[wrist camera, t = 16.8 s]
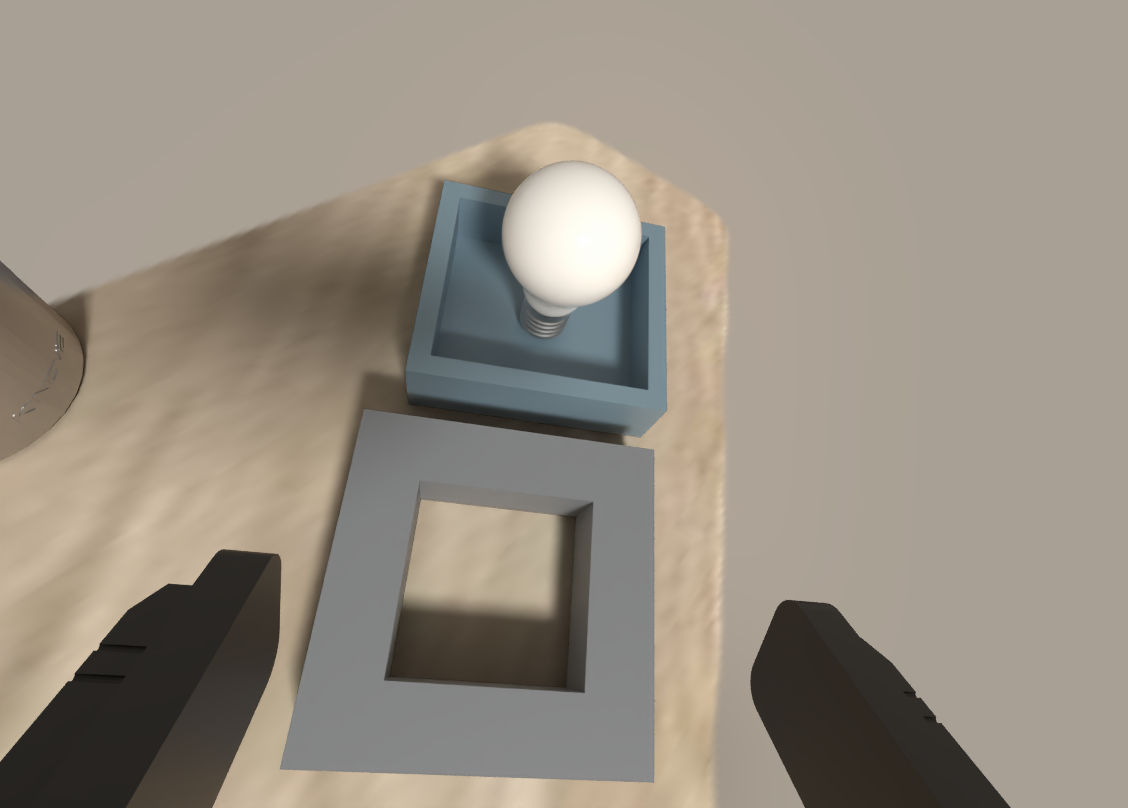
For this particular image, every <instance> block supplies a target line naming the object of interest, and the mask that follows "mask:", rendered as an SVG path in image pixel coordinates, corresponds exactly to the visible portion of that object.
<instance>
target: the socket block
mask: <svg viewBox="0 0 1128 808" xmlns="http://www.w3.org/2000/svg"><path fill="white" fill-rule="evenodd" d="M421 499H424V500H433V501H441V502H450V503H458V504H467V505H475V506H484V507H493V508H501V509H510V510H518V511H527V512H535V513H544V514H553V515H561V516H570V517H576V527H575V544H574V561H573V579H572V596H571V613H570V631H569V648H568V665H567V683H566V688H562V687H546V686H530V685H515V684H499V683H483V682H468V681H452V680H436V679H421V678H405V677H390V671H391V666H392V660H393V654H394V649H395V643H396V637H397V632H398V626H399V620H400V614H401V609H402V603H403V597H404V592H405V586H406V580H407V575H408V569H409V563H410V557H411V552H412V546H413V540H414V535H415V529H416V523H417V517H418V512H419V506H420V500H421ZM280 769H285V770H313V771H341V772H369V773H398V774H426V775H454V776H483V777H511V778H539V779H567V780H596V781H624V782H652V783H654V450H652V449H645V448H638V447H631V446H624V445H617V444H610V443H603V442H596V441H589V440H582V439H574V438H567V437H560V436H553V435H546V434H539V433H532V432H525V431H518V430H511V429H504V428H496V427H489V426H482V425H475V424H468V423H461V422H454V421H447V420H440V419H433V418H426V417H418V416H411V415H404V414H397V413H390V412H383V411H376V410H369V409H364V411H363V416H362V420H361V424H360V428H359V433H358V437H357V441H356V445H355V450H354V454H353V458H352V463H351V467H350V471H349V475H348V480H347V484H346V488H345V493H344V497H343V501H342V505H341V510H340V514H339V518H338V522H337V527H336V531H335V535H334V540H333V544H332V548H331V552H330V557H329V561H328V565H327V570H326V574H325V578H324V582H323V587H322V591H321V595H320V599H319V604H318V608H317V612H316V617H315V621H314V625H313V629H312V634H311V638H310V642H309V646H308V651H307V655H306V659H305V664H304V668H303V672H302V676H301V681H300V685H299V689H298V694H297V698H296V702H295V706H294V711H293V715H292V719H291V723H290V728H289V732H288V736H287V741H286V745H285V749H284V753H283V758H282V762H281V766H280Z"/></svg>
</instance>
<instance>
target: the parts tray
mask: <svg viewBox="0 0 1128 808" xmlns="http://www.w3.org/2000/svg"><path fill="white" fill-rule="evenodd" d="M512 195H513V194H508V193H503V192H499V191H494V190H489V189H485V188H480V187H475V186H470V185H466V184H461V183H456V182H452V181H447V180H445V181H444V185H443V190H442V195H441V200H440V205H439V209H438V214H437V219H436V224H435V229H434V234H433V238H432V243H431V248H430V253H429V258H428V263H427V267H426V272H425V277H424V282H423V287H422V292H421V296H420V301H419V306H418V311H417V316H416V321H415V325H414V330H413V335H412V340H411V345H410V350H409V354H408V359H407V364H406V369H405V374H406V385H407V397H408V404H413V405H419V406H426V407H433V408H440V409H447V410H454V411H461V412H468V413H475V414H482V415H489V416H496V417H503V418H510V419H516V420H523V421H530V422H537V423H544V424H551V425H558V426H565V427H572V428H579V429H586V430H593V431H600V432H607V433H613V434H620V435H627V436H634V437H641V436H642V435H643V434H644V433H645V432H646V431H647V430H648V429H649V428H650V427H651V426H652V425H653V424H654V423H655V422H656V421H657V420H658V419H659V418H660V417H661V416H662V415H663V414H664V413H665V412H666V411H667V364H666V271H665V227H663V226H659V225H654V224H649V223H645V222H641V228H642V238H641V247H640V251H639V255H638V258H637V261H636V263H635V266H634V268H633V270H632V271H631V273H630V275H629V276H628V278H627V279H626V280H625V282H624V283H623V284H622V285H621V286H620V287H619V288H618V289H617V290H616V291H614V292H613V293H612V294H611V295H609V296H608V297H606V298H604V299H602V300H600V301H598V302H596V303H593V304H590V305H586V306H582V307H578V308H577V309H576V310H575V311H573V312H572V313H571V314H570V317H569V319H568V321H567V324H566V326H565V328H564V330H563V332H562V333H561V334H560V335H559V336H557V337H555V338H553V339H548V340H543V339H538V338H535V337H533V336H531V335H530V334H528V333H527V332H526V331H525V330H524V328H523V327H522V325H521V322H520V312H521V308H522V305H523V301H524V297H525V296H524V292H523V287H522V286H521V285H520V283H519V282H518V281H517V280H516V278H515V277H514V275H513V274H512V272H511V270H510V268H509V266H508V264H507V261H506V259H505V255H504V252H503V246H502V234H501V233H502V222H503V217H504V213H505V210H506V207H507V205H508V202H509V200H510V198H511V196H512Z"/></svg>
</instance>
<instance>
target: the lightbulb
mask: <svg viewBox="0 0 1128 808" xmlns="http://www.w3.org/2000/svg"><path fill="white" fill-rule="evenodd" d="M501 234H502V246H503V252H504V255H505V259H506V261H507V264H508V266H509V268H510V270H511V272H512V274H513V275H514V277H515V278H516V280H517V281H518V282H519V283H520V285H521V286H522V287H523V292H524V296H525V297H524V301H523V305H522V308H521V312H520V322H521V325H522V327H523V328H524V330H525V331H526V332H527V333H528V334H530V335H531V336H533V337H535V338H538V339H543V340H548V339H553V338H555V337H557V336H559V335H560V334H561V333H562V332H563V330H564V328H565V326H566V324H567V321H568V319H569V317H570V314H571V313H572V312H573V311H575V310H576V309H577V308H578V307H582V306H586V305H590V304H593V303H596V302H598V301H600V300H602V299H604V298H606V297H608V296H609V295H611V294H612V293H613V292H614V291H616V290H617V289H618V288H619V287H620V286H621V285H622V284H623V283H624V282H625V280H626V279H627V278H628V276H629V275H630V273H631V271H632V270H633V268H634V266H635V263H636V261H637V258H638V255H639V251H640V247H641V238H642V228H641V220H640V215H639V212H638V209H637V206H636V204H635V201H634V199H633V197H632V196H631V194H630V192H629V191H628V189H627V188H626V187H625V186H624V184H623V183H622V182H621V181H620V180H619V179H618V178H617V177H615V176H614V175H613V174H612V173H610V172H609V171H607V170H605V169H604V168H602V167H599V166H597V165H594V164H591V163H588V162H583V161H561V162H556V163H552V164H549V165H547V166H544V167H542V168H540V169H538V170H537V171H535V172H534V173H532V174H531V175H529V176H528V177H527V178H526V179H525V180H524V181H523V182H522V183H521V184H520V185H519V186H518V188H517V189H516V190H515V192H514V193H513V195H512V196H511V198H510V200H509V202H508V205H507V207H506V210H505V213H504V217H503V222H502V233H501Z"/></svg>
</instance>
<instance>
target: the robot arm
mask: <svg viewBox="0 0 1128 808" xmlns="http://www.w3.org/2000/svg"><path fill="white" fill-rule="evenodd" d="M82 374H83V354H82V349H81V345H80V341H79V339H78V338H77V336H76V334H75V333H74V331H73V329H72V327H71V326H70V325H69V324H68V323H67V322H66V321H65V320H64V319H63V318H62V317H61V316H60V315H59V314H57V313H56V312H55V311H54V310H53V309H52V308H51V307H50V306H49V305H48V304H46V303H45V302H44V301H43V300H42V299H41V298H40V297H39V296H38V295H37V294H35V293H34V292H33V291H32V290H31V289H30V288H29V287H28V286H27V285H26V284H24V283H23V282H22V281H21V280H20V279H19V278H18V277H17V276H16V275H15V274H14V273H13V272H12V271H11V270H10V269H9V268H7V267H6V266H5V265H4V264H3V263H2V262H1V261H0V460H3V459H5V458H7V457H9V456H11V455H12V454H14V453H16V452H18V451H20V450H22V449H23V448H25V447H27V446H29V445H30V444H31V443H33V442H34V441H35V440H36V439H38V438H39V437H40V436H42V435H43V434H44V433H46V432H47V431H48V430H49V429H50V428H51V427H52V426H53V425H54V424H55V423H56V422H57V421H58V419H59V418H60V417H61V416H62V415H63V414H64V413H65V412H66V410H67V408H68V407H69V405H70V403H71V402H72V400H73V399H74V397H75V395H76V393H77V390H78V387H79V384H80V381H81V378H82ZM280 593H281V559H280V556H279V555H278V554H271V553H260V552H248V551H237V550H225V549H223V550H220V551H218V552H217V553H216V554H215V556H214V557H213V558H212V559H211V561H210V562H209V563H208V565H207V566H206V568H205V569H204V570H203V572H202V573H201V574H200V576H199V577H198V578H197V580H196V581H195V583H194V584H193V585H179V584H167V585H166V586H164V587H163V588H161V589H160V590H158V591H156V592H155V593H153V594H152V595H150V596H149V597H147V598H146V599H144V600H143V601H141V602H140V603H138V604H137V605H135V606H133V607H132V608H130V609H129V610H128V611H127V612H126V613H125V614H124V615H123V617H122V618H121V619H120V620H119V621H118V623H117V624H116V625H115V626H114V627H113V629H112V630H111V631H110V632H109V633H108V634H107V636H106V637H105V638H104V639H103V640H102V642H101V643H100V646H99V649H98V650H97V651H93V652H92V653H91V655H90V656H89V657H88V658H87V659H86V661H85V662H84V663H83V664H82V665H81V667H80V668H79V669H78V670H77V671H76V672H75V676H74V679H73V680H72V681H68V682H67V683H66V684H65V686H64V687H63V688H62V689H61V690H60V692H59V693H58V694H57V695H56V696H55V697H54V699H53V700H52V701H51V702H50V703H49V705H48V706H47V707H46V708H45V709H44V711H43V712H42V713H41V714H40V715H39V716H38V718H37V719H36V720H35V721H34V722H33V724H32V725H31V726H30V727H29V728H28V730H27V731H26V732H25V733H24V734H23V735H22V737H21V738H20V739H19V740H18V741H17V743H16V744H15V745H14V746H13V747H12V749H11V750H10V751H9V752H8V753H7V754H6V756H5V757H4V758H3V759H2V760H1V762H0V808H212V807H213V805H214V802H215V800H216V798H217V796H218V793H219V791H220V789H221V787H222V784H223V782H224V780H225V778H226V775H227V773H228V771H229V769H230V766H231V764H232V762H233V760H234V757H235V755H236V753H237V751H238V748H239V746H240V744H241V742H242V739H243V737H244V735H245V733H246V730H247V728H248V726H249V724H250V721H251V719H252V717H253V715H254V712H255V710H256V708H257V706H258V703H259V701H260V699H261V697H262V694H263V692H264V690H265V688H266V685H267V683H268V681H269V678H270V675H271V672H272V669H273V666H274V662H275V658H276V654H277V649H278V643H279V630H280ZM751 693H752V697H753V702H754V705H755V707H756V709H757V712H758V713H759V715H760V717H761V720H762V722H763V724H764V726H765V728H766V730H767V732H768V734H769V736H770V738H771V740H772V742H773V744H774V746H775V748H776V750H777V752H778V754H779V756H780V758H781V760H782V762H783V764H784V766H785V768H786V770H787V772H788V774H789V776H790V778H791V780H792V782H793V784H794V786H795V788H796V790H797V792H798V794H799V796H800V798H801V800H802V802H803V804H804V807H805V808H1010V806H1009V805H1008V804H1007V803H1006V801H1005V800H1004V799H1003V798H1002V797H1001V795H1000V794H999V793H998V792H997V791H996V789H995V788H994V787H993V786H992V784H991V783H990V782H989V781H988V780H987V778H986V777H985V776H984V775H983V774H982V772H981V771H980V770H979V769H978V767H977V766H976V765H975V764H974V763H973V761H972V760H971V759H970V758H969V756H968V755H967V754H966V753H965V751H964V750H963V749H962V748H961V747H960V745H959V744H958V743H957V742H956V741H955V739H954V738H953V737H952V736H951V734H950V733H949V732H948V731H947V730H946V729H945V727H944V726H943V725H942V723H937V722H936V716H935V715H934V714H933V712H932V711H931V710H930V709H929V708H928V706H927V705H926V704H925V703H924V702H923V700H922V699H921V698H917V697H916V695H915V693H916V692H915V691H914V689H913V688H912V687H911V686H910V684H909V683H908V682H907V681H906V680H905V679H904V677H903V676H902V675H901V674H900V672H899V671H898V670H897V669H896V667H895V666H894V665H893V664H892V663H891V662H890V661H889V660H888V659H886V658H885V657H884V656H883V655H882V654H880V653H879V652H878V651H877V650H875V649H874V648H873V647H872V646H871V645H869V644H868V643H867V642H866V641H864V640H863V639H862V638H860V637H859V636H858V634H857V633H856V632H855V631H854V629H853V628H852V627H851V626H850V625H849V623H848V622H847V621H846V619H845V618H844V617H843V616H842V614H841V613H840V612H839V611H838V610H837V609H836V608H835V607H834V606H833V605H831V604H827V603H818V602H806V601H795V600H794V601H793V600H786V601H783V602H782V603H781V604H780V605H779V606H778V607H777V609H776V611H775V614H774V616H773V619H772V621H771V624H770V626H769V628H768V631H767V633H766V635H765V638H764V640H763V643H762V645H761V648H760V650H759V652H758V655H757V657H756V659H755V662H754V665H753V667H752V671H751Z"/></svg>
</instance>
